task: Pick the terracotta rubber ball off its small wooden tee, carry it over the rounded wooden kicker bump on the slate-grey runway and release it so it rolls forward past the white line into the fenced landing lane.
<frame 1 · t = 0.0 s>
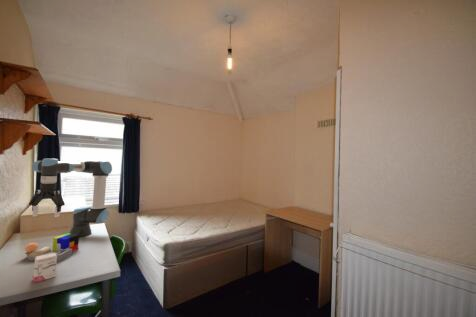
hand: (46, 216, 129), 28 cm above the table, fingers open, 13 cm apart
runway: (50, 257, 134), on the table
ink box: (44, 278, 111), on the table
tee: (30, 256, 134), on the table
puzzle toy: (65, 250, 145), on the table
ball: (31, 247, 134), point 6 cm above the table, touching tee
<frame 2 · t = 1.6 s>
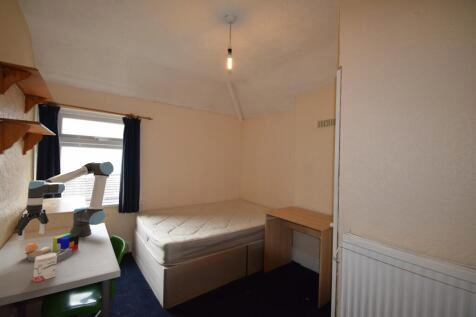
hand: (31, 237, 134), 13 cm above the table, fingers open, 13 cm apart
nothing on the table moved.
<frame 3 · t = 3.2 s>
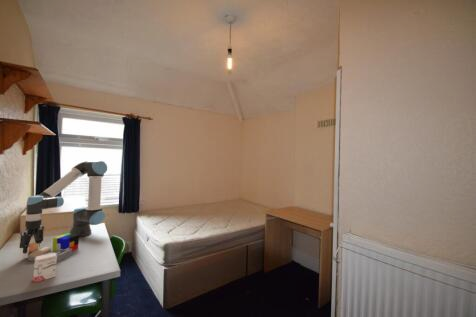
hand: (30, 255, 134), 1 cm above the table, fingers closed on ball, 6 cm apart
ball: (31, 247, 134), point 6 cm above the table, touching gripper, tee
everything else where it was.
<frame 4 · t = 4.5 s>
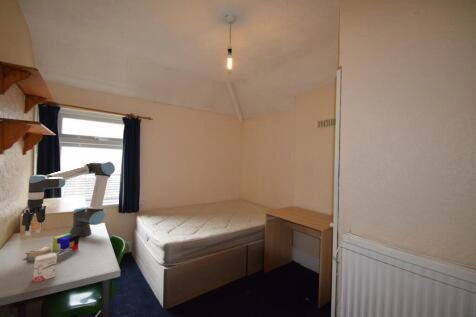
hand: (33, 233, 134), 15 cm above the table, fingers closed on ball, 6 cm apart
ball: (33, 226, 134), point 20 cm above the table, touching gripper
everything else where it was.
when the fingers open (7 cm above the table, at t = 5.9 s): ball drops 8 cm and tips over, resting on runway.
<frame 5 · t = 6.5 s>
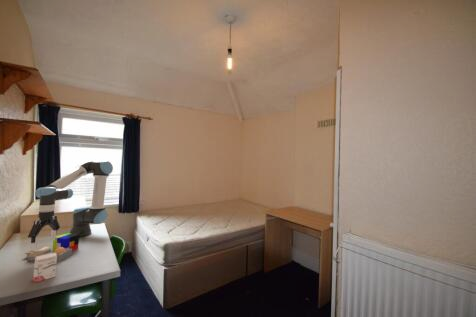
hand: (44, 243, 134), 9 cm above the table, fingers open, 13 cm apart
puzzle toy: (65, 250, 145), on the table, touching gripper
ball: (59, 252, 134), point 4 cm above the table, tilted 122°, touching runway
everything else where it was.
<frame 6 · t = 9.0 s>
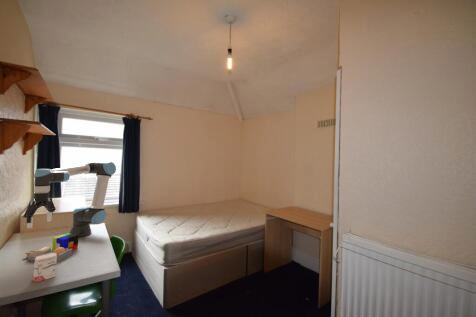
hand: (39, 224, 135), 21 cm above the table, fingers open, 13 cm apart
puzzle toy: (65, 250, 145), on the table
ball: (59, 252, 134), point 4 cm above the table, tilted 129°, touching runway
everything else where it was.
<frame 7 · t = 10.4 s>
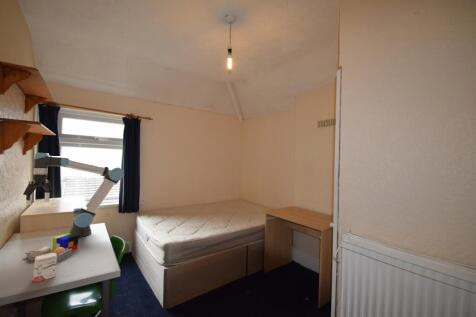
hand: (38, 203, 149), 32 cm above the table, fingers open, 13 cm apart
nothing on the table moved.
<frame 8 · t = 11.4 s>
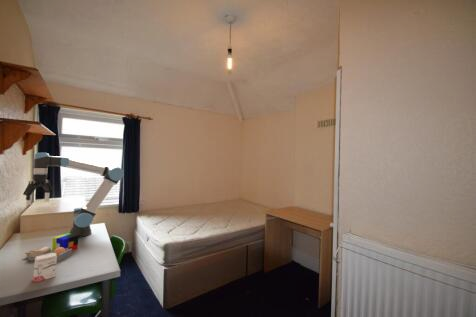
hand: (38, 202, 150), 32 cm above the table, fingers open, 13 cm apart
nothing on the table moved.
at the end: ball inside the target area on the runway (1.3 cm from its centre), point 3.6 cm above the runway's base; the gripper is holding nothing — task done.
